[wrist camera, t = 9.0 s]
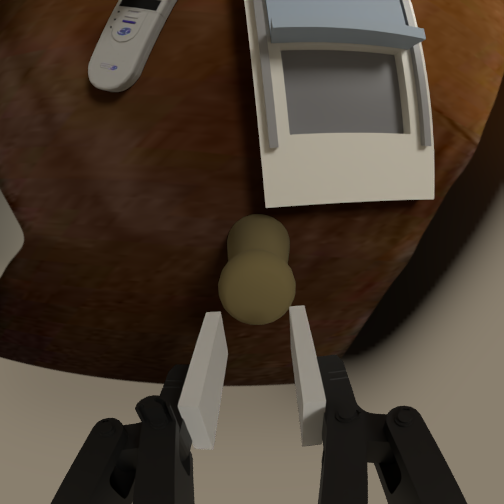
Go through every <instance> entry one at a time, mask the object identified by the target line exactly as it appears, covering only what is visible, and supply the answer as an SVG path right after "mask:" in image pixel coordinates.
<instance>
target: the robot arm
mask: <svg viewBox="0 0 504 504" xmlns="http://www.w3.org/2000/svg"><path fill="white" fill-rule="evenodd" d="M289 312H290V335H291V353H292V361H293V369H294V377H295V386H296V394H297V403H298V411H299V421H300V429H301V438H302V446H312V445H320V444H322V441H323V447H324V448H323V456H322V470H321V480H320V490H319V499H318V504H368V480H367V479H368V476H367V475H368V474H367V462H369V463H374V465H375V467H376V470H377V473H378V476H379V479H380V481H381V484H382V487H383V490H384V492H385V495H386V499H387V501H388V504H467V502H466V500H465V498H464V496H463V494H462V492H461V490H460V488H459V486H458V484H457V482H456V480H455V478H454V476H453V475H452V472H451V470H450V468H449V467H448V465H447V462H446V461H445V459H444V457H443V455H442V453H441V451H440V449H439V448H438V446H437V444H436V442H435V440H434V438H433V437H432V435H431V433H430V431H429V429H428V428H427V426H426V424H425V422H424V420H423V418H422V417H421V415H420V413H419V412H418V411H417V410H416V409H414V408H412V407H408V406H398V407H396V408H393V409H392V410H391V411H390V412H389V413H388V414H386V415H385V414H373V413H369V412H366V411H364V410H363V409H361V408H360V407H359V406H358V405H357V403H356V400H355V397H354V394H353V391H352V387H351V384H350V381H349V378H348V375H347V372H346V369H345V366H344V363H343V361H342V360H341V359H340V358H339V357H338V356H337V355H330V356H321V357H316V353H315V348H314V344H313V340H312V336H311V331H310V327H309V323H308V319H307V315H306V311H305V307H304V305H303V306H292V307H289ZM227 356H228V351H227V345H226V339H225V334H224V328H223V322H222V316H221V312H206V315H205V318H204V321H203V324H202V327H201V331H200V334H199V337H198V340H197V343H196V347H195V350H194V353H193V356H192V360H191V363H190V365H175V366H174V367H173V368H172V369H171V370H170V371H169V372H168V375H167V378H166V381H165V383H164V386H163V388H162V391H161V394H160V396H154V395H153V396H148V397H146V398H144V399H142V400H141V401H139V403H137V405H136V407H135V410H136V412H137V414H138V416H139V418H140V419H141V421H142V422H140V423H136V424H129V425H122V423H121V422H120V421H119V420H117V419H115V418H106V419H102V420H101V421H99V422H97V423H96V425H95V426H94V427H93V429H92V431H91V432H90V434H89V436H88V437H87V439H86V441H85V443H84V444H83V446H82V448H81V450H80V451H79V453H78V455H77V457H76V459H75V460H74V462H73V464H72V465H71V467H70V469H69V471H68V473H67V474H66V476H65V478H64V480H63V482H62V484H61V485H60V487H59V489H58V491H57V493H56V495H55V497H54V499H53V500H52V502H51V504H132V502H133V504H194V484H193V458H192V454H191V452H190V448H191V444H192V443H193V445H194V448H195V449H213V448H214V441H215V435H216V428H217V421H218V415H219V408H220V401H221V394H222V389H223V382H224V376H225V369H226V363H227Z"/></svg>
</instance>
